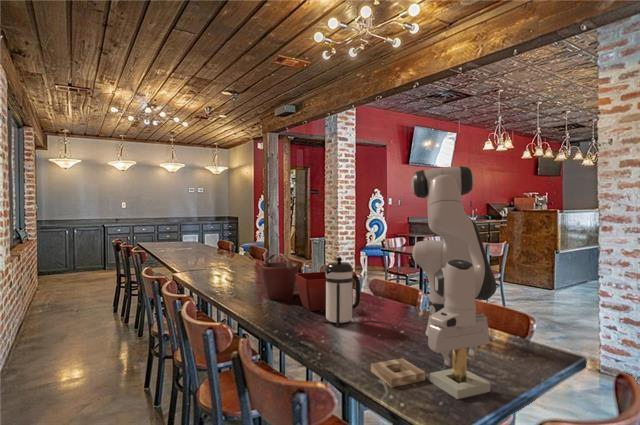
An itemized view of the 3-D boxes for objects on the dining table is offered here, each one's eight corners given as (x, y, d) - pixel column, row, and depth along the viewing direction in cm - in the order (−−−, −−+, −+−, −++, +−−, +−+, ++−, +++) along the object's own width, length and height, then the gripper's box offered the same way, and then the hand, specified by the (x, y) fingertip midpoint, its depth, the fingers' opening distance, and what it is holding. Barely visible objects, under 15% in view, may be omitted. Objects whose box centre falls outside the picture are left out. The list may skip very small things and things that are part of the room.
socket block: (460, 374, 124) (460, 366, 124) (490, 391, 113) (490, 382, 113) (429, 381, 120) (429, 373, 120) (457, 399, 109) (457, 390, 108)
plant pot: (341, 310, 201) (342, 277, 200) (306, 313, 194) (306, 279, 193) (327, 301, 218) (327, 271, 218) (294, 304, 211) (294, 273, 211)
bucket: (256, 293, 237) (256, 252, 236) (290, 290, 246) (290, 250, 246) (268, 303, 215) (268, 257, 214) (305, 299, 224) (305, 255, 223)
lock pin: (459, 382, 119) (460, 342, 119) (469, 387, 115) (469, 347, 115) (449, 384, 117) (449, 344, 117) (458, 390, 114) (459, 349, 114)
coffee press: (356, 329, 170) (356, 259, 169) (319, 326, 173) (319, 258, 173) (360, 317, 187) (360, 254, 186) (327, 315, 190) (327, 253, 190)
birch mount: (402, 365, 131) (402, 358, 131) (424, 380, 120) (424, 372, 120) (370, 371, 127) (370, 363, 127) (391, 387, 116) (391, 379, 116)
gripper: (478, 309, 123) (478, 353, 123) (425, 316, 115) (424, 363, 115) (494, 314, 117) (494, 360, 117) (439, 322, 109) (438, 372, 110)
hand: (459, 362), depth 116 cm, fingers open, 7 cm apart
